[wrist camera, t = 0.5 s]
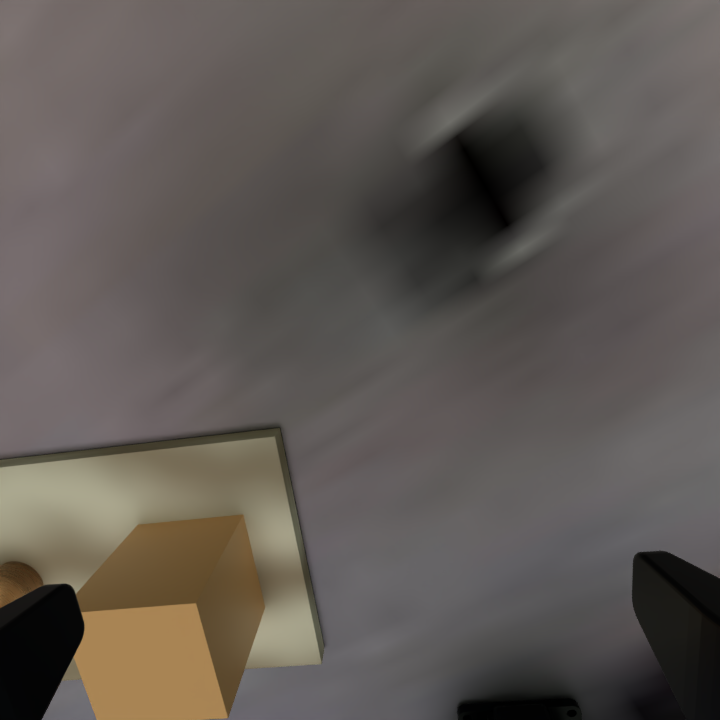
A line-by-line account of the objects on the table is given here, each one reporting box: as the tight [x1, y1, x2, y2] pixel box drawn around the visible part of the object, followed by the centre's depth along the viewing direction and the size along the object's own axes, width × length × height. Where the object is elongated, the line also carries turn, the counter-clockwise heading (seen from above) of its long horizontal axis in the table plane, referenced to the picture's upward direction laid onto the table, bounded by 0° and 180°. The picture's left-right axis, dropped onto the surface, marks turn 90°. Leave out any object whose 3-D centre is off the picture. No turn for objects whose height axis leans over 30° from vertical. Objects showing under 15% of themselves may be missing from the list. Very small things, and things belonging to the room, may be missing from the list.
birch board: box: [0, 428, 324, 681], centre depth 23 cm, size 13×20×1 cm, turn 98°
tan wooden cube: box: [74, 515, 265, 720], centre depth 20 cm, size 5×5×6 cm
